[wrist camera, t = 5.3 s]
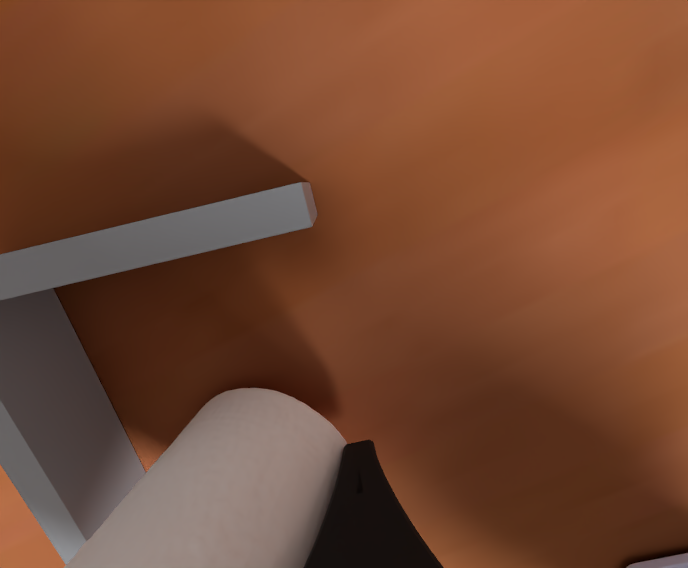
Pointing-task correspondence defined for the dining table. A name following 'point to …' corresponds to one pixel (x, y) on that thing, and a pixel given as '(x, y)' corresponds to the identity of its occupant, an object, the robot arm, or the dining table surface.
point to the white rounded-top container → (228, 491)
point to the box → (74, 366)
